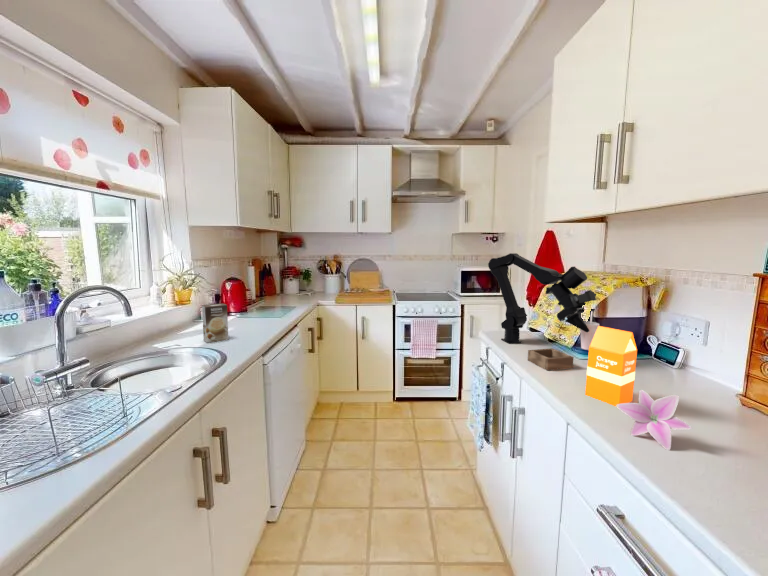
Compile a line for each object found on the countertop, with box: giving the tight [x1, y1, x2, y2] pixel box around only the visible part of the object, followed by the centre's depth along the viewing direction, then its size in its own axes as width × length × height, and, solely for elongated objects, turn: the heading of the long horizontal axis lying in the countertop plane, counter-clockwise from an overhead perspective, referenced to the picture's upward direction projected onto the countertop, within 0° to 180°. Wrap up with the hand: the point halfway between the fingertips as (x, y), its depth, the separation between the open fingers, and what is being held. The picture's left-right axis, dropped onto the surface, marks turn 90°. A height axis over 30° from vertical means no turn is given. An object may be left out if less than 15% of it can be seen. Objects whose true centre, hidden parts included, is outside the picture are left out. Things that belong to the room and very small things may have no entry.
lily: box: [615, 389, 692, 451], centre depth 75 cm, size 12×12×10 cm
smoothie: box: [579, 311, 601, 351], centre depth 121 cm, size 6×6×14 cm
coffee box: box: [201, 303, 229, 344], centre depth 149 cm, size 9×6×16 cm
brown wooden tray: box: [527, 347, 574, 371], centre depth 120 cm, size 10×10×4 cm
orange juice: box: [584, 325, 638, 407], centre depth 92 cm, size 8×9×20 cm
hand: (592, 330), depth 120 cm, fingers closed on smoothie, 6 cm apart
